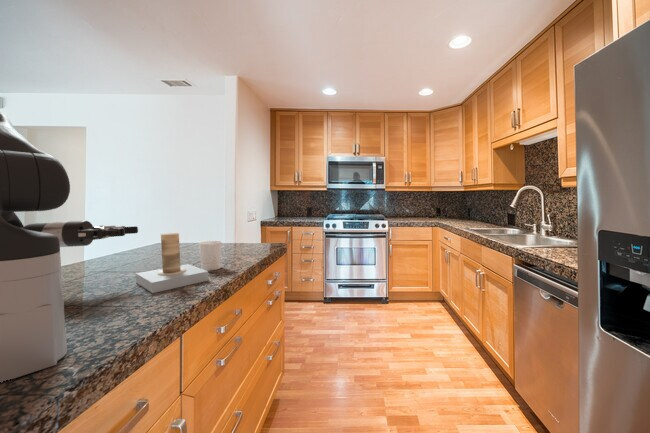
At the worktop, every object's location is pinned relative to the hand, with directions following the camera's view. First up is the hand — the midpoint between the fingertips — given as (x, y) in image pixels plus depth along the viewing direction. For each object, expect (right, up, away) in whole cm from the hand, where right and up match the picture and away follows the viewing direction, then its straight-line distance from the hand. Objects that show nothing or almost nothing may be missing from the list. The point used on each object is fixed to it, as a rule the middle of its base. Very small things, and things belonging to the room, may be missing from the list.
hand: (131, 230), depth 84 cm
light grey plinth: (+11, -16, +3) cm, 20 cm away
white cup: (+16, -16, +20) cm, 30 cm away
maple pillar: (+11, -13, +3) cm, 17 cm away
